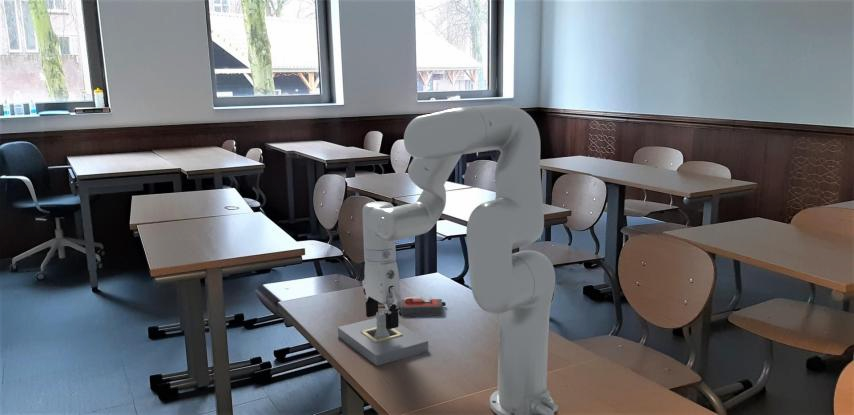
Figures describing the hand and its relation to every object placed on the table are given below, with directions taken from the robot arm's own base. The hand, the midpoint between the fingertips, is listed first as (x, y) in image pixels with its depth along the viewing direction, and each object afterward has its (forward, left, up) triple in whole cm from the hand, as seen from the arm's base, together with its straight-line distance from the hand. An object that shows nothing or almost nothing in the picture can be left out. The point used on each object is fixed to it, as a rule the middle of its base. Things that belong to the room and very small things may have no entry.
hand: (382, 321), depth 155 cm
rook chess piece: (0, 0, -6) cm, 6 cm away
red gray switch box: (+16, -18, -6) cm, 25 cm away
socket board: (0, 0, -6) cm, 6 cm away
